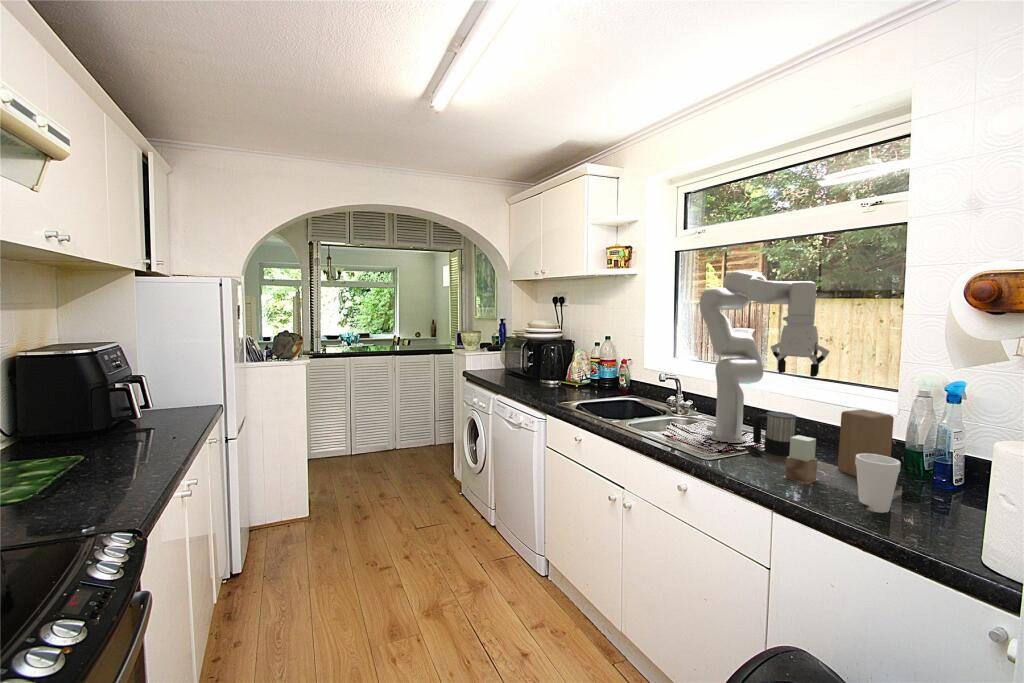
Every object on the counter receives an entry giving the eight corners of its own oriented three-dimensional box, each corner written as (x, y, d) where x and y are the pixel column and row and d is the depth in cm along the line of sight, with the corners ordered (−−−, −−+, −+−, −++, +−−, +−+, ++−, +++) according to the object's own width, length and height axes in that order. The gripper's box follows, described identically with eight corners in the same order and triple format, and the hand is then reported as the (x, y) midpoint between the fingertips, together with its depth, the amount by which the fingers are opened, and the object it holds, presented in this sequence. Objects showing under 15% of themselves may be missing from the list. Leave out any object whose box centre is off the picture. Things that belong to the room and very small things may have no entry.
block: (857, 470, 164) (862, 408, 162) (890, 480, 154) (895, 415, 153) (835, 473, 160) (840, 410, 158) (867, 484, 151) (872, 417, 149)
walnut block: (785, 477, 152) (786, 457, 152) (794, 473, 156) (796, 453, 155) (806, 482, 147) (808, 462, 147) (816, 478, 151) (817, 458, 151)
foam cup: (898, 507, 134) (902, 459, 133) (894, 518, 127) (898, 467, 126) (855, 497, 140) (858, 451, 139) (849, 507, 133) (852, 458, 132)
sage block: (789, 457, 152) (790, 437, 151) (796, 454, 155) (798, 435, 154) (807, 461, 148) (808, 441, 147) (814, 458, 151) (816, 438, 150)
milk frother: (795, 455, 179) (798, 413, 178) (789, 467, 166) (792, 422, 165) (751, 448, 187) (753, 408, 186) (742, 458, 174) (745, 415, 173)
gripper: (767, 319, 166) (764, 372, 167) (825, 322, 152) (821, 379, 154) (778, 319, 171) (775, 370, 172) (835, 321, 157) (832, 377, 158)
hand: (797, 374), depth 163 cm, fingers open, 9 cm apart
